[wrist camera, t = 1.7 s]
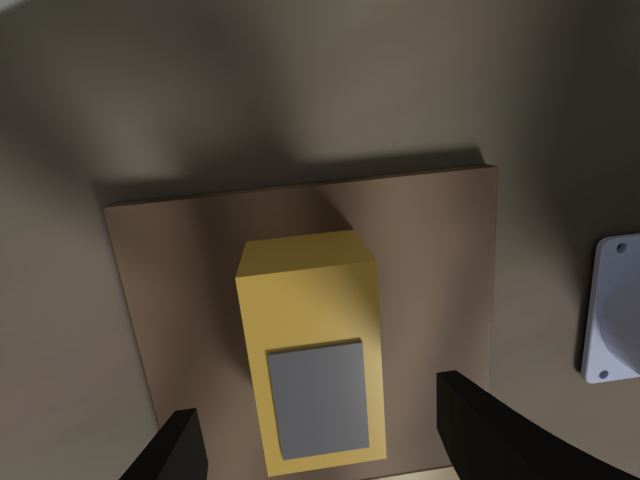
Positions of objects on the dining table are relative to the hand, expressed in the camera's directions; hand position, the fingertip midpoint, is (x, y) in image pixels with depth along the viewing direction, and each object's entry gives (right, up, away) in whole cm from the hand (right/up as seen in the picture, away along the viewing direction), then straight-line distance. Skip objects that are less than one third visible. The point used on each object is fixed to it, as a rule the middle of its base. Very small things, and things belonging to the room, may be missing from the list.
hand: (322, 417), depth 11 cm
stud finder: (-1, +2, +6) cm, 6 cm away
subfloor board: (0, -4, +8) cm, 9 cm away
